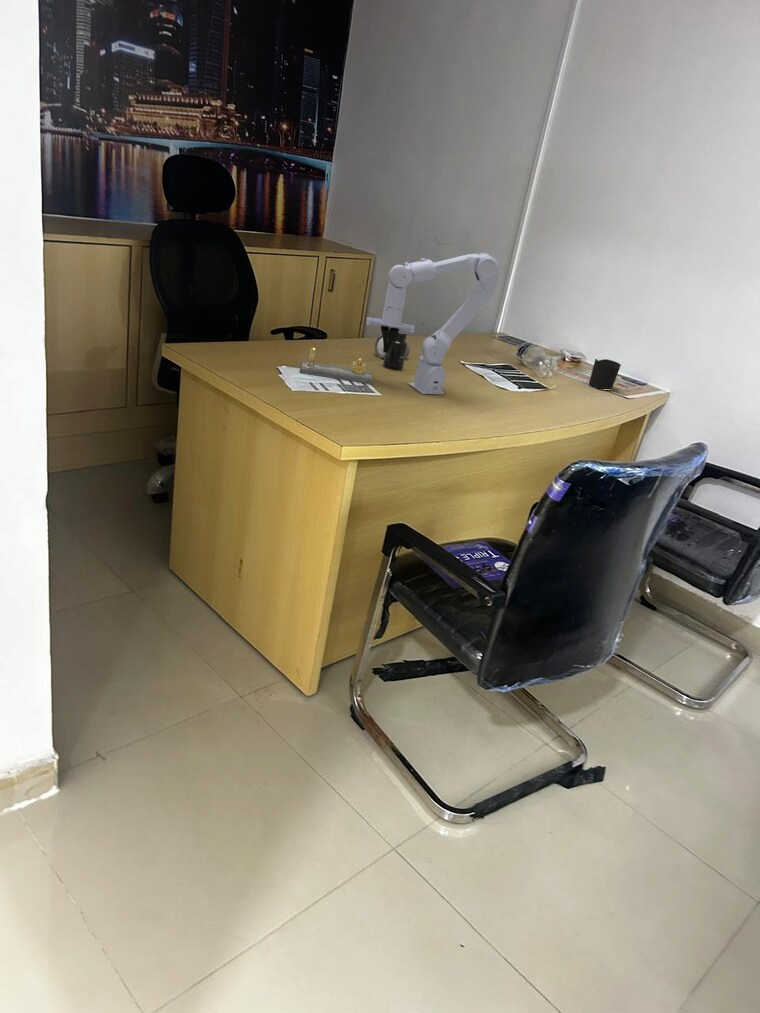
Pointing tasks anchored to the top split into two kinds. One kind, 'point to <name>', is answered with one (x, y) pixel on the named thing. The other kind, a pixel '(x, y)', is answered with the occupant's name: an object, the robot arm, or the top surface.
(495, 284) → the robot arm
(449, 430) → the top surface
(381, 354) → the pipe fitting
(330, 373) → the bolt plate
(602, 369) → the pen holder
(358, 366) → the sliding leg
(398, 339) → the supplement bottle
